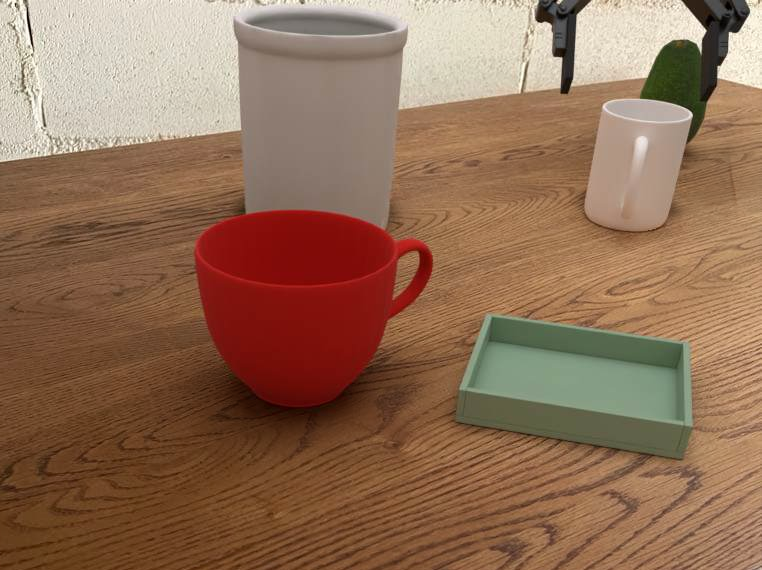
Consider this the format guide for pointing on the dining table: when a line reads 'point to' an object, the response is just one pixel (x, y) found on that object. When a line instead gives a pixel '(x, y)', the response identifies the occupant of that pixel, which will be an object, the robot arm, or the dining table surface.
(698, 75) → the avocado
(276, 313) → the ceramic cup
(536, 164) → the dining table surface
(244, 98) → the utensil holder
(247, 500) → the dining table surface
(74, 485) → the dining table surface
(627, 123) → the cup
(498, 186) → the dining table surface
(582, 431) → the sage green tray
